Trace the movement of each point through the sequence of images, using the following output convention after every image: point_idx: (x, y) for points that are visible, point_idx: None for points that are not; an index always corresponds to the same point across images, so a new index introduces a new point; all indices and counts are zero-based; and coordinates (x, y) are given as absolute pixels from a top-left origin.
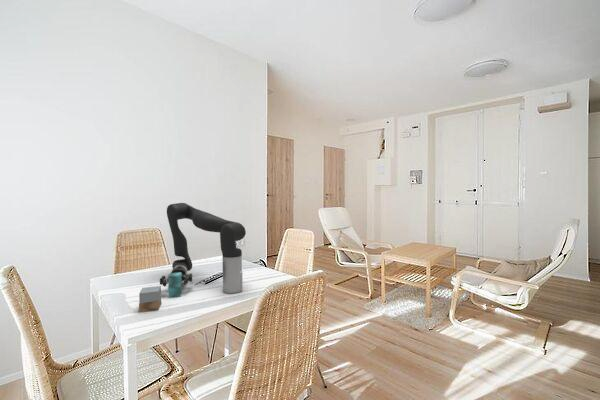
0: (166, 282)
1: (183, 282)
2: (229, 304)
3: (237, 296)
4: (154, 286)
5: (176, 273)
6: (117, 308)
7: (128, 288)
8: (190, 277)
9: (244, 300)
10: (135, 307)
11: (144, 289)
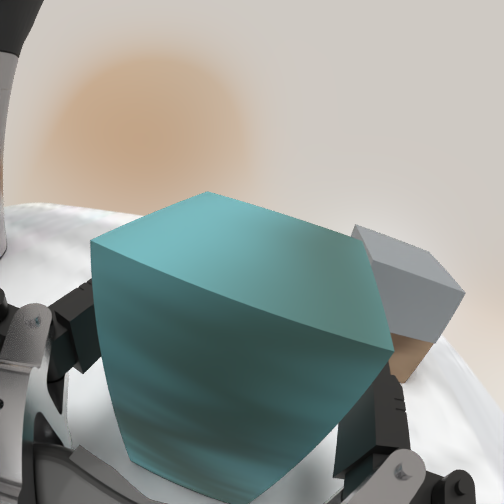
0: (352, 442)
1: (66, 438)
2: (92, 212)
3: (24, 222)
4: (410, 272)
5: (227, 249)
6: (484, 401)
7: None
8: (4, 299)
9: (49, 205)
10: (429, 384)
11: (437, 269)
